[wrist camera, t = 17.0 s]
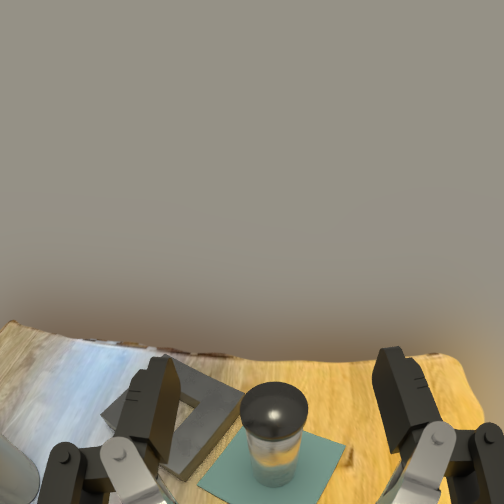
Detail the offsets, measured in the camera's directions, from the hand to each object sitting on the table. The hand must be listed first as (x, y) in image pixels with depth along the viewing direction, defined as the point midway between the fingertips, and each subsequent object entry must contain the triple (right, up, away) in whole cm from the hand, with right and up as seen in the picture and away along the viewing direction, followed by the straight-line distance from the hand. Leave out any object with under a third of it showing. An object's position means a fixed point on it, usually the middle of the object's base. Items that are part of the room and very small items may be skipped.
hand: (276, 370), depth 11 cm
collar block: (-11, -18, +26) cm, 34 cm away
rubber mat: (+2, -21, +19) cm, 29 cm away
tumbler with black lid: (+2, -21, +19) cm, 28 cm away
